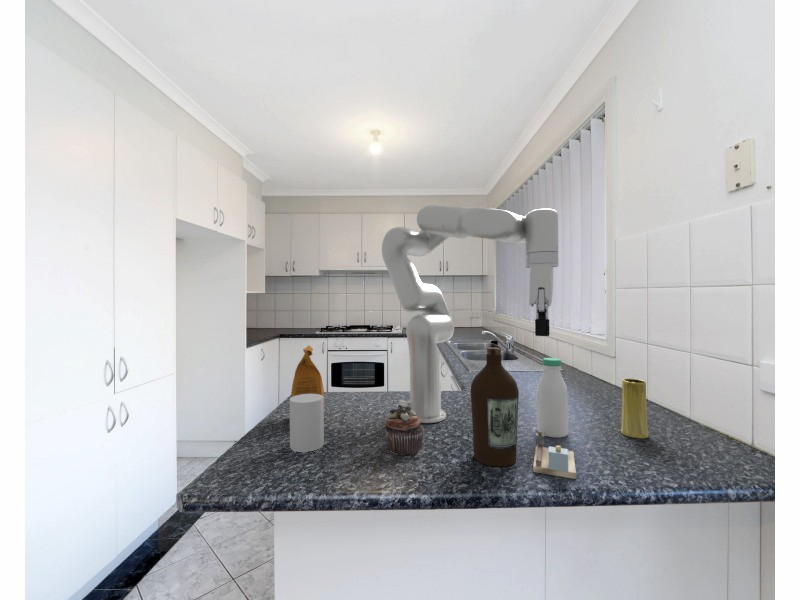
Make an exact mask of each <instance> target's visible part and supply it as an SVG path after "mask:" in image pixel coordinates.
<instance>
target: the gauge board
mask: <svg viewBox="0 0 800 600" xmlns="http://www.w3.org/2000/svg"><path fill="white" fill-rule="evenodd" d="M535 444H536V446H535V449H534V450H535V451H534V458H533V466H532V467H533V470H532V471H533V473H540V474H545V475H551V476H555V477H561V478H568V479H574V480H577V472H576V464H575V463H576V462H575V455H574V451H573V450H568V472H563V471H557V470H551V469H549V447H544V446H545V436H544V434H542V432H540V431H539V432H538V431H537V432H536V433H535Z"/></svg>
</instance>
